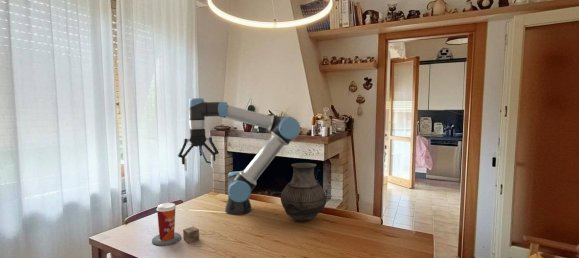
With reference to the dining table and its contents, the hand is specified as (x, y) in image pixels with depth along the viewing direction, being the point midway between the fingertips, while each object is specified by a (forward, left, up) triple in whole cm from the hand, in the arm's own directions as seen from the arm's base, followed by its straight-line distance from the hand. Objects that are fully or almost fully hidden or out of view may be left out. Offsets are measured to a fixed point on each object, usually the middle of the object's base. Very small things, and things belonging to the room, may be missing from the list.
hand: (199, 169), depth 151 cm
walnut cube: (+7, +21, -28) cm, 36 cm away
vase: (-51, +20, -28) cm, 62 cm away
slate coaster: (+17, +16, -28) cm, 36 cm away
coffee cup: (+17, +16, -27) cm, 36 cm away
